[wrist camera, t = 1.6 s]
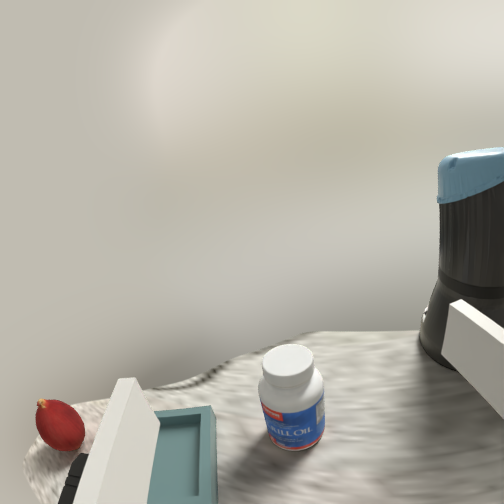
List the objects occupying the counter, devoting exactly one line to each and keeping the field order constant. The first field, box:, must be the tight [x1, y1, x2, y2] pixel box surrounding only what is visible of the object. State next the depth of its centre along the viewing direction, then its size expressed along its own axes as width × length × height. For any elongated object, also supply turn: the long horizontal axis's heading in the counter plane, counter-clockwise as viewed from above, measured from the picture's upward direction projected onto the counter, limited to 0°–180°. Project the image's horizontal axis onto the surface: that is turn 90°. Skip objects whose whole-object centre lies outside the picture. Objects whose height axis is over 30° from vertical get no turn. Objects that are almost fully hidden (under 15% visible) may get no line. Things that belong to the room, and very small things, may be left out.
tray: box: [147, 405, 218, 504], centre depth 21 cm, size 12×12×2 cm
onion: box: [36, 399, 85, 451], centre depth 22 cm, size 6×6×8 cm
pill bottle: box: [258, 344, 325, 451], centre depth 23 cm, size 6×5×10 cm
